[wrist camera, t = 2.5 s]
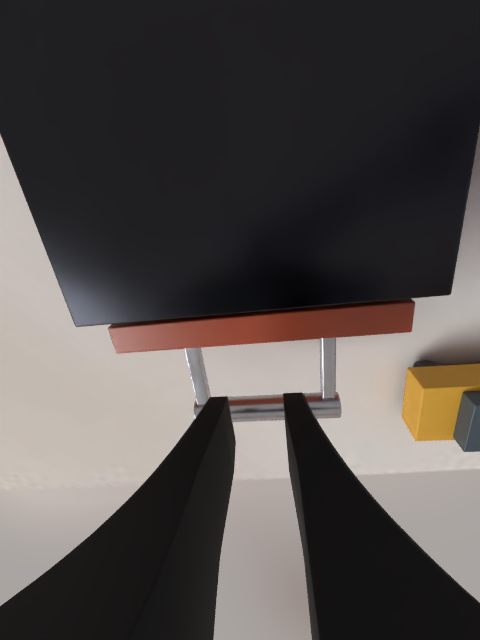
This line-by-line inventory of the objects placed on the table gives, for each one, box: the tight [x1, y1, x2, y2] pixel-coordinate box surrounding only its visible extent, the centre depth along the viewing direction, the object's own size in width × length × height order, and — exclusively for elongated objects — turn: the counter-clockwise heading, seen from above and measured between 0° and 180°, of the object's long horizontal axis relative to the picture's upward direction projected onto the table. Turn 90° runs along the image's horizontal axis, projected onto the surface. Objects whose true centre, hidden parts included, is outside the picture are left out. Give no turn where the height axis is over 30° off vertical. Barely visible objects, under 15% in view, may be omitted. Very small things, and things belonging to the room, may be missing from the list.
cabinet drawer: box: [108, 298, 415, 422], centre depth 12 cm, size 19×11×5 cm, turn 7°
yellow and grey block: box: [402, 361, 480, 452], centre depth 17 cm, size 6×4×4 cm, turn 97°
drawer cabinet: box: [0, 0, 480, 327], centre depth 10 cm, size 15×13×7 cm
